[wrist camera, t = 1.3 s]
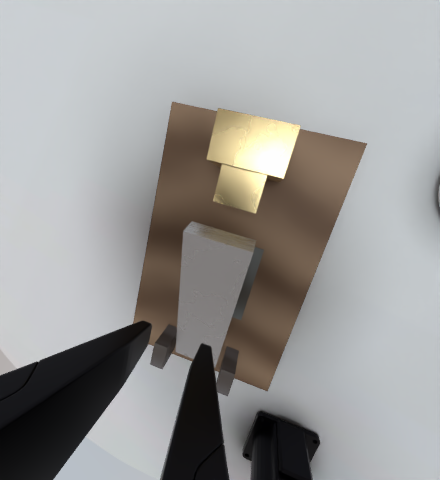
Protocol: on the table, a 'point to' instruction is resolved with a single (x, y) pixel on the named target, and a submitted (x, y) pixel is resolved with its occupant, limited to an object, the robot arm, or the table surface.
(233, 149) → the gold t-shaped block
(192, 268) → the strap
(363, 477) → the table surface
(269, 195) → the base
